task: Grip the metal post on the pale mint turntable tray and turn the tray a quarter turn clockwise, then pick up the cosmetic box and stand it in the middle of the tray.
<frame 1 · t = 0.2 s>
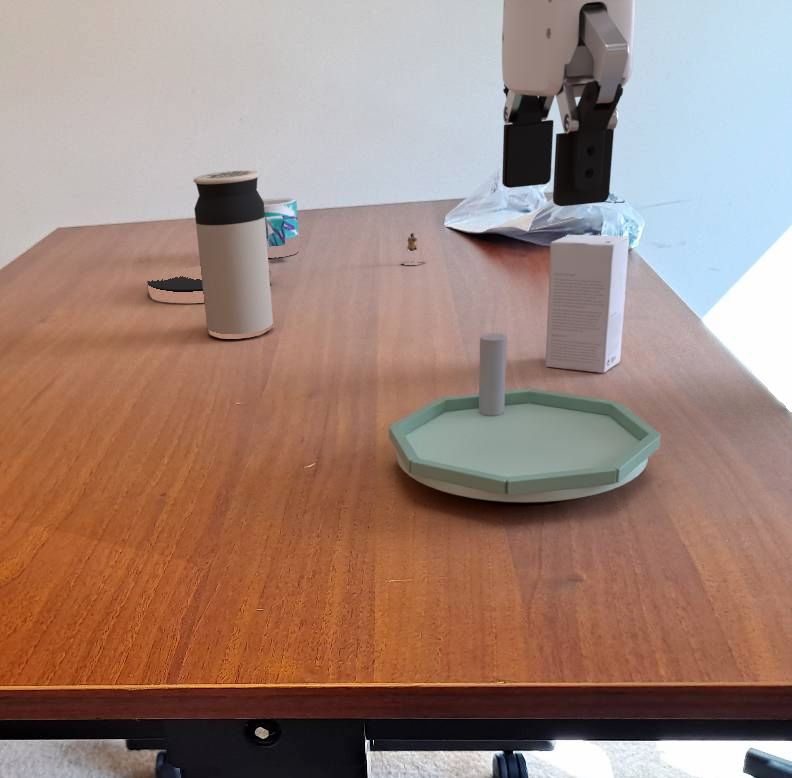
hand: (551, 193, 62), 20 cm above the table, tool pointing down, fingers open, 9 cm apart
cosmetic box: (581, 366, 95), on the table
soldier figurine: (412, 265, 145), on the table
mug: (275, 257, 160), on the table
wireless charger: (210, 290, 141), on the table
travel mug: (240, 334, 118), on the table
tray: (520, 407, 71), point 5 cm above the table, hinge at 0.0°
tray base: (517, 472, 73), on the table
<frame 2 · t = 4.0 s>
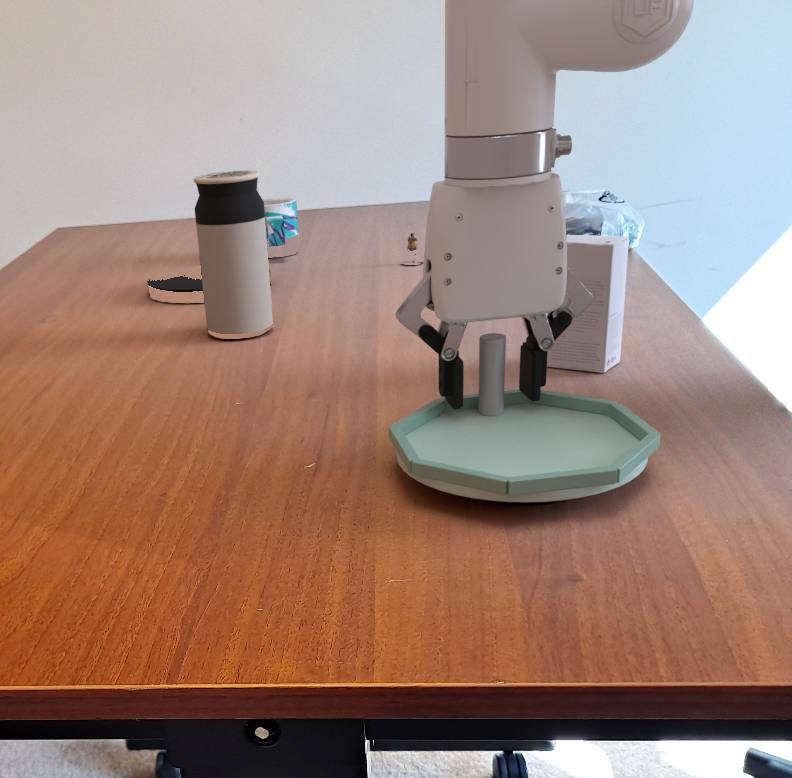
hand: (491, 397, 78), 4 cm above the table, tool pointing down, fingers open, 5 cm apart
tray: (520, 407, 71), point 5 cm above the table, hinge at 0.4°, touching gripper
everything else where it was.
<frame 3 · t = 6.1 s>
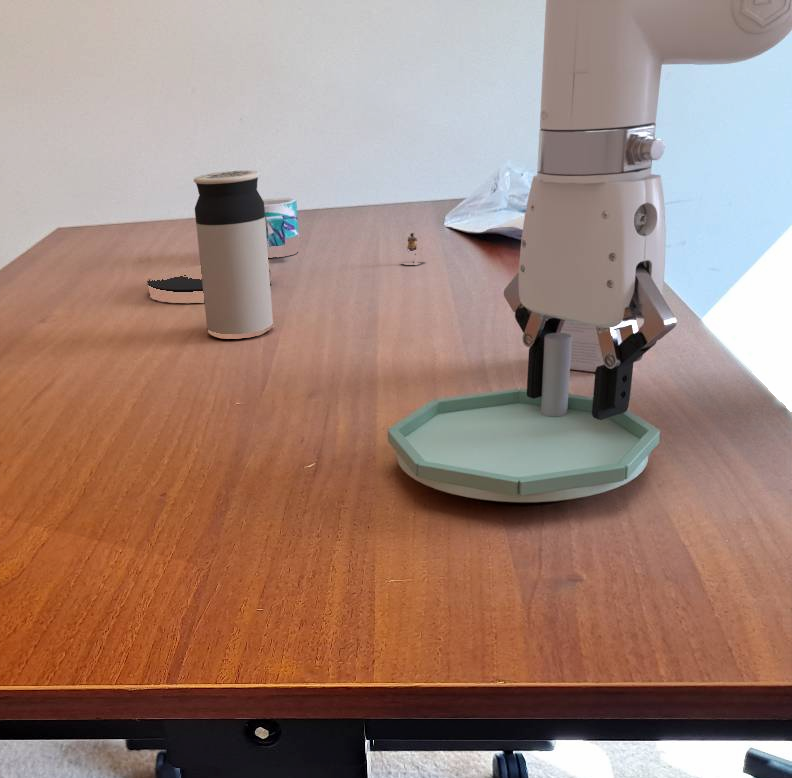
hand: (575, 402, 75), 4 cm above the table, tool pointing down, fingers open, 5 cm apart
tray: (520, 407, 71), point 5 cm above the table, hinge at -40.4°, touching gripper
everything else where it was.
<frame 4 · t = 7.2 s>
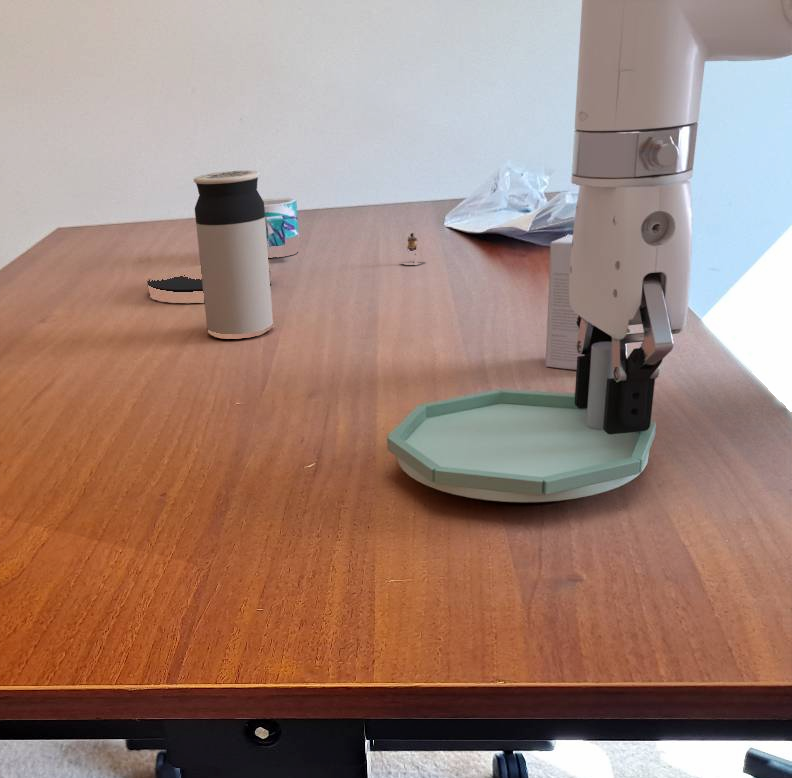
hand: (610, 415, 72), 4 cm above the table, tool pointing down, fingers closed on tray, 5 cm apart
tray: (520, 407, 71), point 5 cm above the table, hinge at -76.0°, touching gripper
everything else where it was.
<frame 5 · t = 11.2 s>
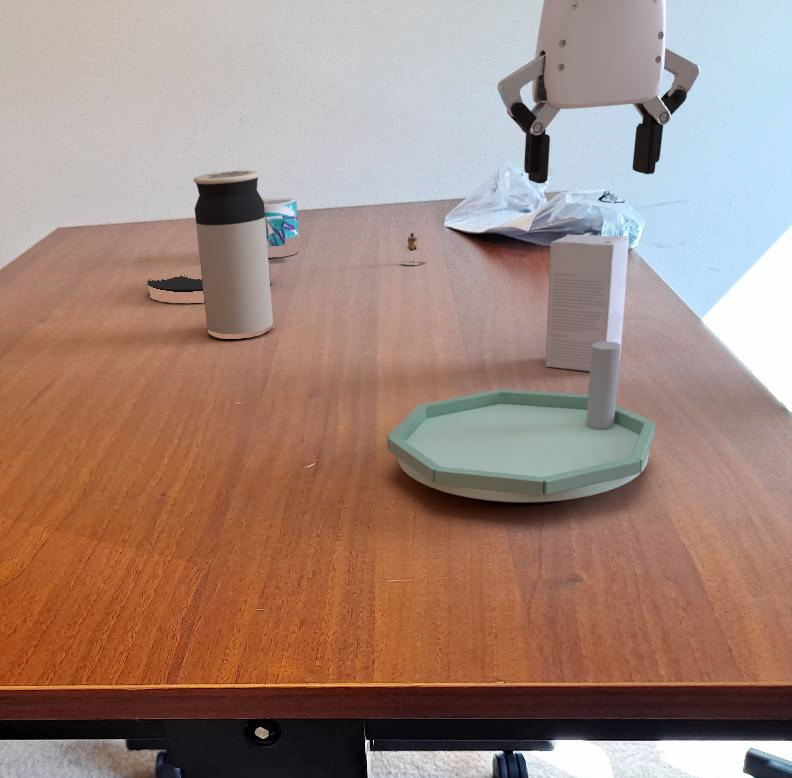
hand: (590, 177, 87), 17 cm above the table, tool pointing down, fingers open, 9 cm apart
tray: (520, 407, 71), point 5 cm above the table, hinge at -75.8°
everything else where it was.
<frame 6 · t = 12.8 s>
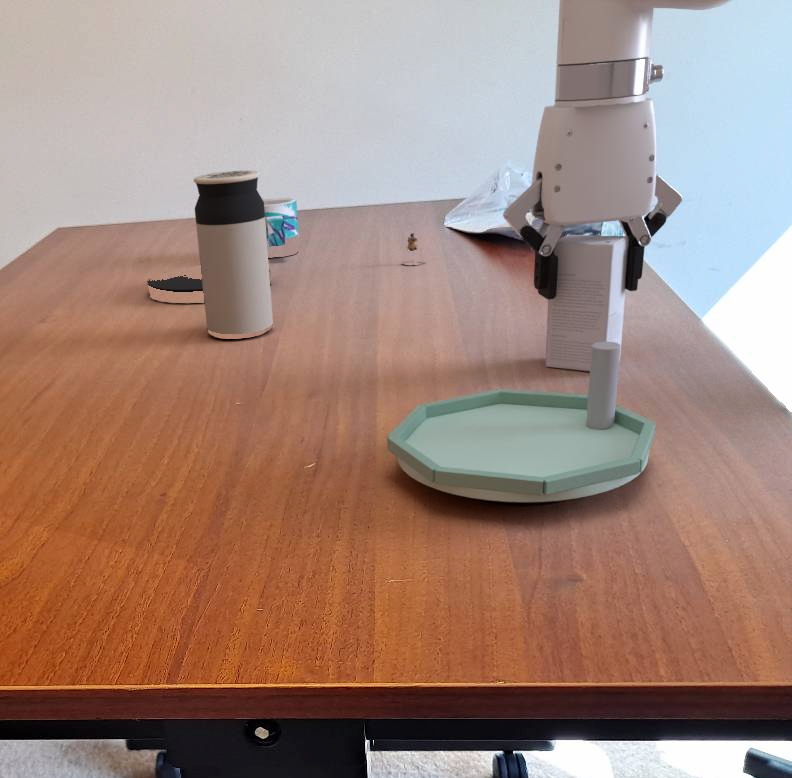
hand: (586, 290, 92), 7 cm above the table, tool pointing down, fingers closed on cosmetic box, 7 cm apart
cosmetic box: (581, 366, 95), on the table, touching gripper
everything else where it was.
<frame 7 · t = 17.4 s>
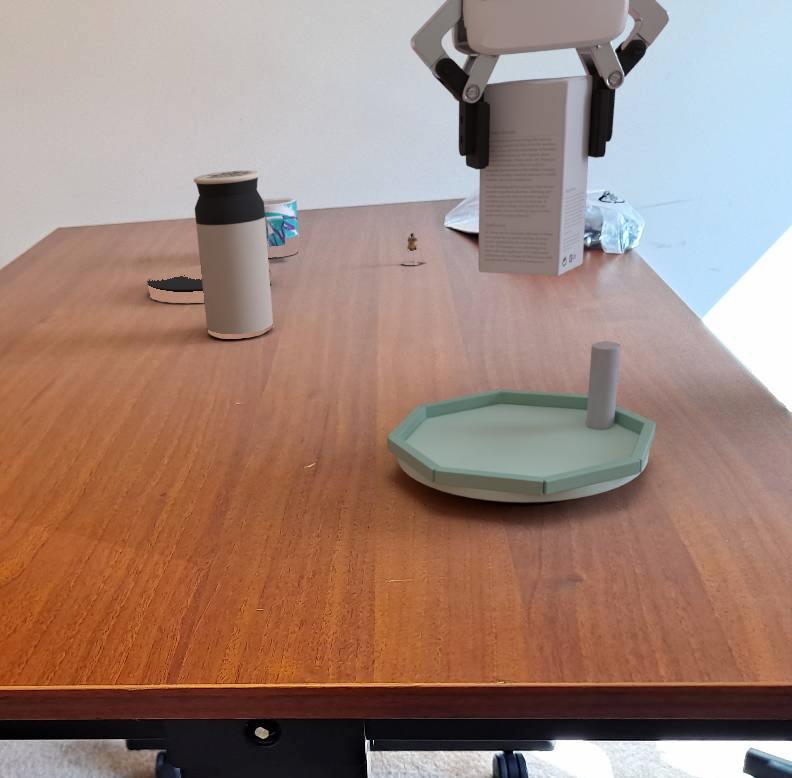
hand: (533, 159, 64), 22 cm above the table, tool pointing down, fingers closed on cosmetic box, 7 cm apart
cosmetic box: (529, 272, 68), point 15 cm above the table, touching gripper
everything else where it was.
when the fingers open (10 cm above the table, at t = 21.3 s): cosmetic box stays where it is, resting on tray.
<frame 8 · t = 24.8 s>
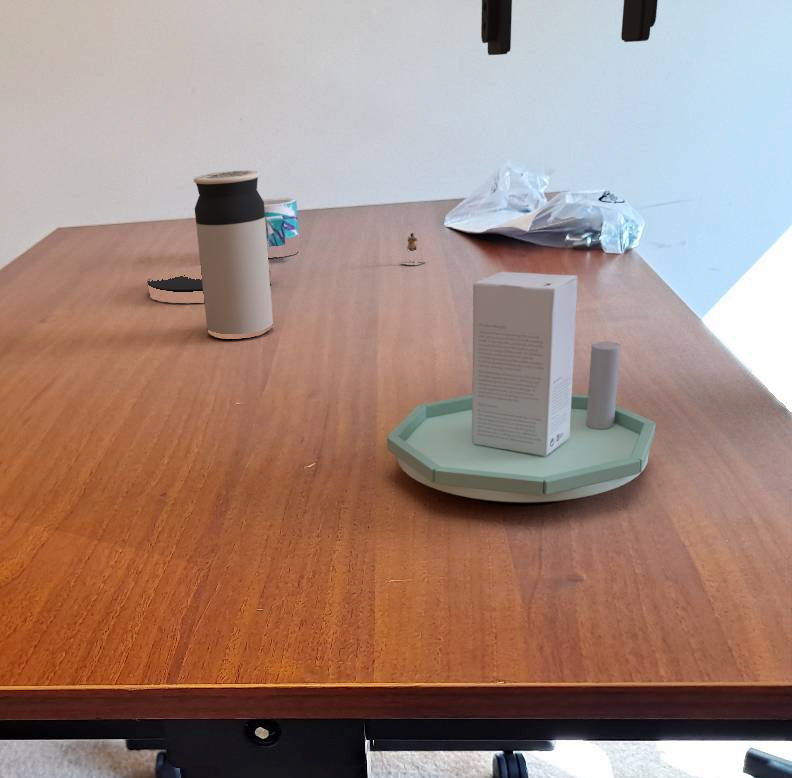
hand: (566, 47, 68), 28 cm above the table, tool pointing down, fingers open, 9 cm apart
cosmetic box: (519, 444, 72), point 2 cm above the table, touching tray
tray: (520, 407, 71), point 5 cm above the table, hinge at -75.8°, touching cosmetic box
everything else where it was.
at the end: tray at -76° (first picture: +0°); cosmetic box inside the target area on the tray (0.1 cm from its centre), point 2.2 cm above the tray's base; cosmetic box tilted 0° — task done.
